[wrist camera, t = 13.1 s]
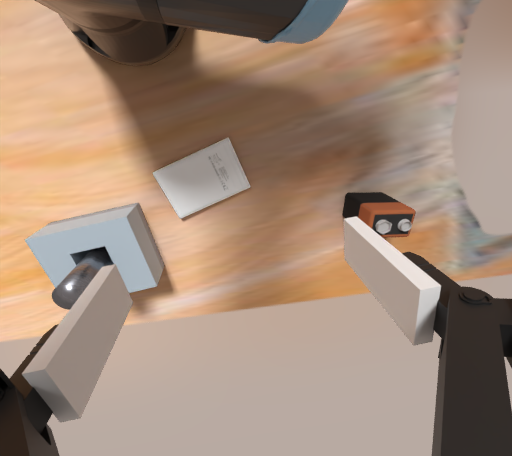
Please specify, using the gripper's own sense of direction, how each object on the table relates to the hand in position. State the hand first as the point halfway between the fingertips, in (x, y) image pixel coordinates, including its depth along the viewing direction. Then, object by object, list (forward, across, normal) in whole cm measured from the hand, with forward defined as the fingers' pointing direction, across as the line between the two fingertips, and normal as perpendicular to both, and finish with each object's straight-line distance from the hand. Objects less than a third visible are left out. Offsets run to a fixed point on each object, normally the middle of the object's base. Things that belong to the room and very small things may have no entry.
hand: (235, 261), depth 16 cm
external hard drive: (+29, -4, -2) cm, 30 cm away
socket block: (+28, -22, -10) cm, 37 cm away
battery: (+29, +22, -11) cm, 38 cm away
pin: (+27, -22, -10) cm, 36 cm away
